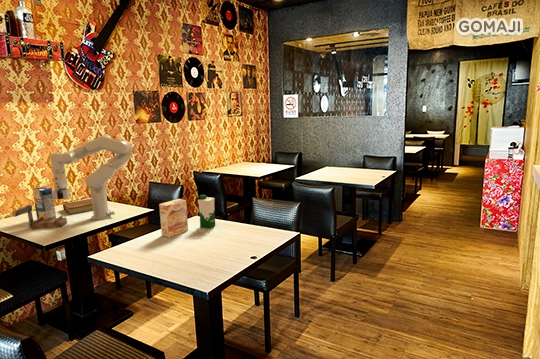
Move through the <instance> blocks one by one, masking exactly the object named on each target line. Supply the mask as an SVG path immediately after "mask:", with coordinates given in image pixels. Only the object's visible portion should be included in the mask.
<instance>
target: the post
mask: <svg viewBox="0 0 540 359" xmlns="http://www.w3.org/2000/svg"><path fill="white" fill-rule="evenodd" d="M27 217H28V224H29V226H28V228H29V229H32V227H31V223H32V222H34V218H33V217H34V215H33V209H32V210H31V211H28V212H27Z"/></svg>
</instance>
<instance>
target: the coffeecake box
mask: <svg viewBox="0 0 540 359" xmlns="http://www.w3.org/2000/svg"><path fill="white" fill-rule="evenodd" d="M158 206H159V217H160V229H161V230H160V231H161V236H162V235H163V236H162V237H165V236H166V237H165V238H168V237H169V238H172V237H174V235H175V236H177V234H178V235H180V234H183V233H186V232H188V231H189V224H188V222H189V221H188V208H187V200H186V199H182V198H178V199H177V198H176V199H173V200H170V201H166V202H162V203H159V204H158ZM185 231H186V232H185ZM182 232H183V233H182ZM171 236H172V237H171Z"/></svg>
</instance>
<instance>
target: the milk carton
mask: <svg viewBox="0 0 540 359" xmlns="http://www.w3.org/2000/svg"><path fill="white" fill-rule="evenodd" d="M197 202H198V209H199V210H198V211H199V226H200V229H212V228H213V227H215V226H216V215H215V214H216V213H215V211H216V210H215V197H208V196H207V195H206V194H200V195H199V199H198V200H197Z"/></svg>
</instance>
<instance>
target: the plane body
mask: <svg viewBox="0 0 540 359" xmlns="http://www.w3.org/2000/svg"><path fill="white" fill-rule="evenodd" d="M66 225H68V219H67V217H63V215H61V216H58V217H56V218H48V219H43V217H41V218H39V219H37V218H36V220H33V222H32V223H31V227H32V228H31V230H42V229H59V228H60V229H61V228H63V227H65V226H66Z"/></svg>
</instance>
